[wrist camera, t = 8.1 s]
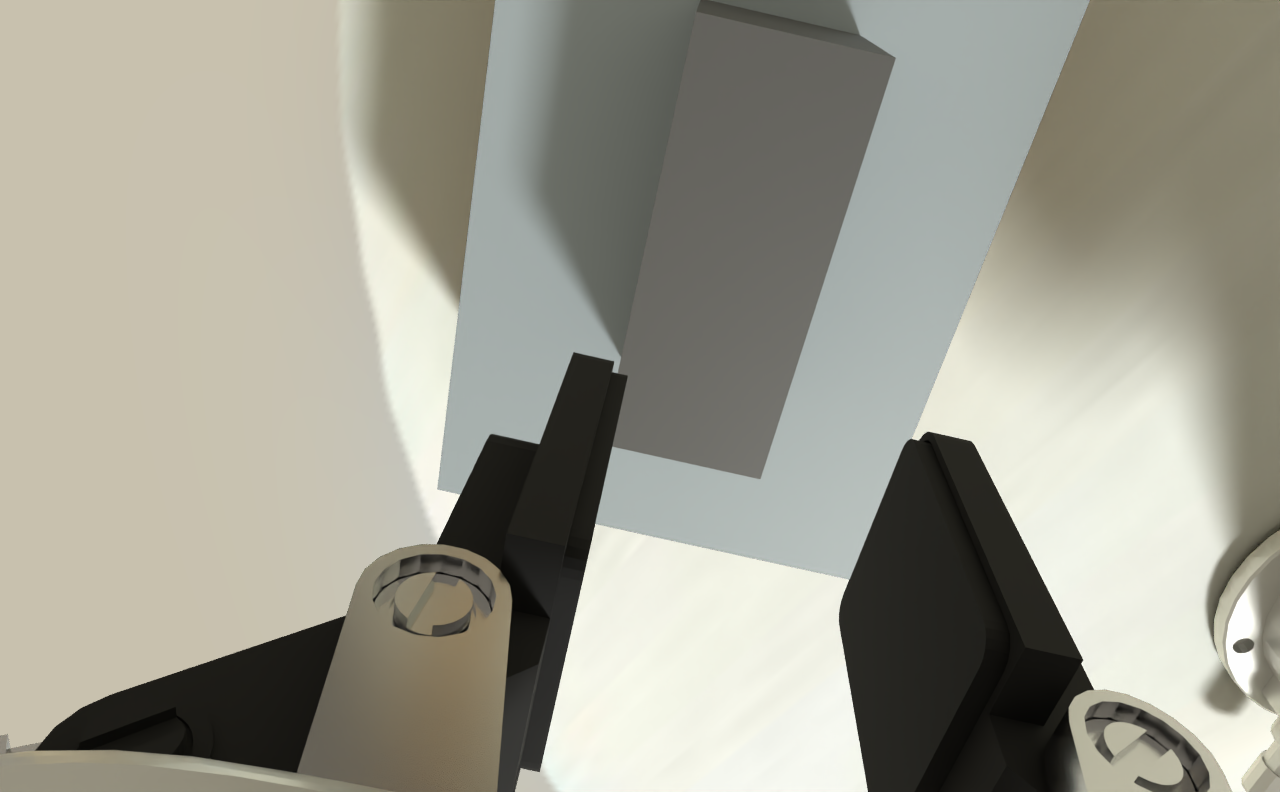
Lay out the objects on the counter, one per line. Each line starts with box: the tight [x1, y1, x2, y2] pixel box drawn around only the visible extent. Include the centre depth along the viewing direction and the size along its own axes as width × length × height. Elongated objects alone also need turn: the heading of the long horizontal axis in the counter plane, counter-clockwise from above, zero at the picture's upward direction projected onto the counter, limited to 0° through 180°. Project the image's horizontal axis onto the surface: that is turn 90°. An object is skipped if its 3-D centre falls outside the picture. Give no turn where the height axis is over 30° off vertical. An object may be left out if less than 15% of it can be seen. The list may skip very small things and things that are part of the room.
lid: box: [437, 0, 1090, 580], centre depth 23 cm, size 22×14×7 cm, turn 168°
